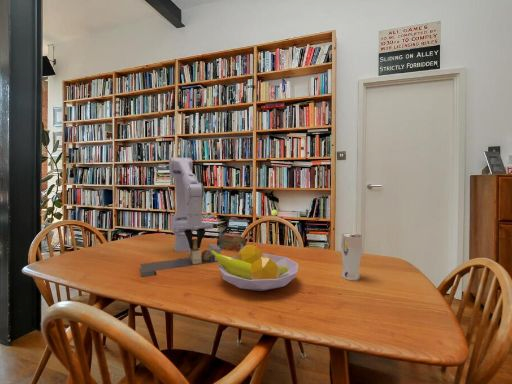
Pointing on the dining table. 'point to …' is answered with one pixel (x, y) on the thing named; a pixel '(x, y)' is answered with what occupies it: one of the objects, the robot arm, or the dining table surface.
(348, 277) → the beer glass
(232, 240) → the tin
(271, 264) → the fruit bowl
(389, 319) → the dining table surface
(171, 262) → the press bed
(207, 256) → the walnut
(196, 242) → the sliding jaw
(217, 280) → the dining table surface
